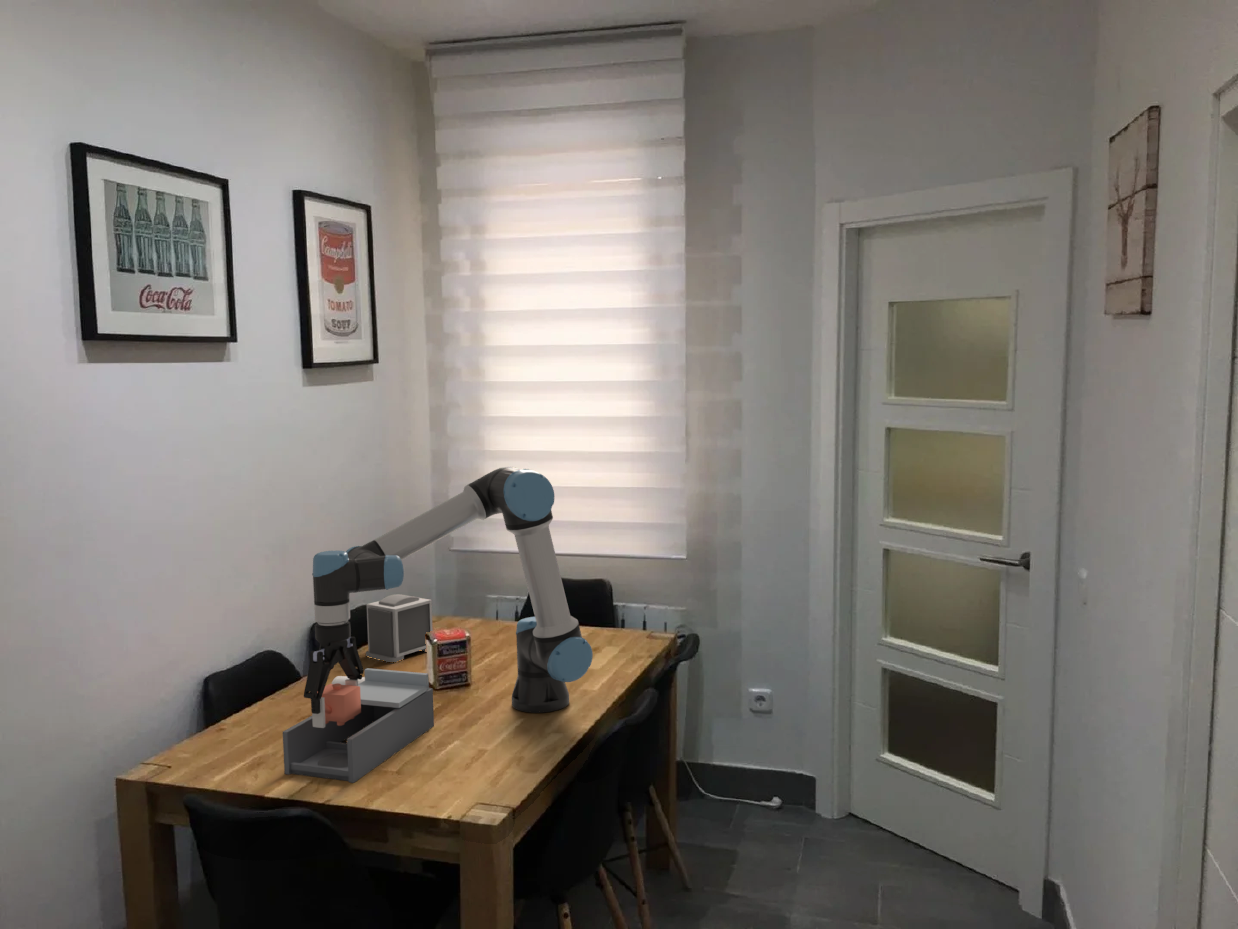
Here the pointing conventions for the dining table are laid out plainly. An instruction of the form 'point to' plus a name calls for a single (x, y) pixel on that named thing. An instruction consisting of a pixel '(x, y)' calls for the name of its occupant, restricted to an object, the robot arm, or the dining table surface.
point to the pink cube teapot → (341, 702)
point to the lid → (392, 687)
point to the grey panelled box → (397, 626)
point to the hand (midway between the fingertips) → (336, 717)
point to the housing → (355, 740)
